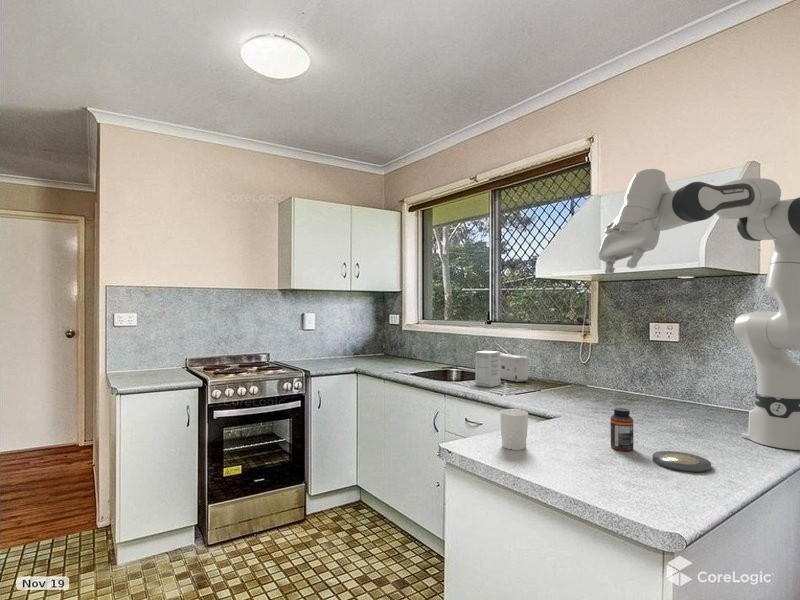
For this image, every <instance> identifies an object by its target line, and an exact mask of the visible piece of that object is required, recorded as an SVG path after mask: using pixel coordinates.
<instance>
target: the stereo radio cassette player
mask: <svg viewBox="0 0 800 600" xmlns="http://www.w3.org/2000/svg"><path fill="white" fill-rule="evenodd" d="M493 343H495V344H496V345H498V346H499V347H498V348H501V349H502V350H503V351H504V352H505V353H503V352H500V368H501V380H506V381H511V382H516V383H518V382H526V381H527V380H528V379H529V357H528V356H525V355H517V354H516V355H515V354H510V353H509V352H508V351H507V350H505V349H504V348H503V347H502V346H501V345H499V344H498V343H497V342H496V341H495V340H494V341H493Z"/></svg>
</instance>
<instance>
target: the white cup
mask: <svg viewBox="0 0 800 600" xmlns="http://www.w3.org/2000/svg"><path fill="white" fill-rule="evenodd" d="M499 414H500V415H499V417H500V418H499V420H500V435H501V446H502V448H505V449H506V448H507V450H511V449H512V450H514V451H522V450H525V449H526V448H527V438H528V427H529V426H528V424H529V423H528V422H529V413H528V411H526V410H523V409H517V408H507V409H506V408H505V409H501V410H500V411H499Z"/></svg>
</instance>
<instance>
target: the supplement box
mask: <svg viewBox="0 0 800 600" xmlns="http://www.w3.org/2000/svg"><path fill="white" fill-rule="evenodd" d="M500 353H501V351H496V350H495V351H494V350H480V351H475V356H474V357H475V359H474V360H475V361H474V362H475V367H474V368H475V369H474V370H475V374H474V375H475V379H474V380H475V386H479V387H486V388H487V387H488V388H493V387H498V386H501V385H502V381H501V380H502V379H501V368H500Z"/></svg>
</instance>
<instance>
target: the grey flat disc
mask: <svg viewBox="0 0 800 600" xmlns="http://www.w3.org/2000/svg"><path fill="white" fill-rule="evenodd" d="M652 461H653V463H654V464H656V465H658V466H660V467H663V468H664V469H665V468H666V469H668V470H672V471H676V472H681V473H688V474H689V473H690V474H691V473H692V474H694V473H695V474H702V473H703V474H704V473H708V472H710V471H711V470H712V463H711V461H710V460H709V459H707V458H705V457H702V456H699V455H696V454H692V453H687V452H682V451H676V450H675V451H673V450H670V451H669V450H662V451H656V452H653V453H652Z"/></svg>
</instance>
